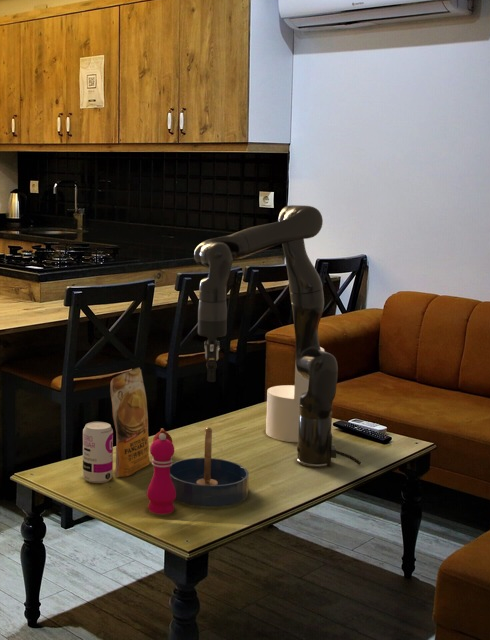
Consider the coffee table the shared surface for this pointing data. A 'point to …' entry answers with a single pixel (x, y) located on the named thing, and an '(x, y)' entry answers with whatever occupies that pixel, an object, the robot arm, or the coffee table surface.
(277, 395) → the cylinder
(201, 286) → the robot arm
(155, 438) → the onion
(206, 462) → the wooden disc peg
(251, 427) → the coffee table surface
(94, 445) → the supplement can
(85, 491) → the coffee table surface
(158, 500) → the pepper mill
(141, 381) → the pancake mix bag
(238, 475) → the bowl
